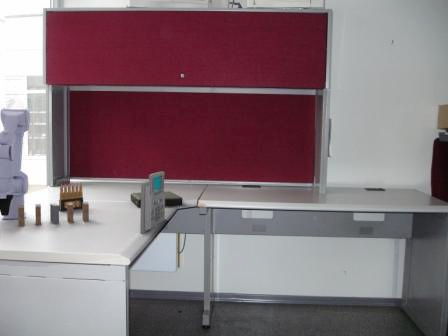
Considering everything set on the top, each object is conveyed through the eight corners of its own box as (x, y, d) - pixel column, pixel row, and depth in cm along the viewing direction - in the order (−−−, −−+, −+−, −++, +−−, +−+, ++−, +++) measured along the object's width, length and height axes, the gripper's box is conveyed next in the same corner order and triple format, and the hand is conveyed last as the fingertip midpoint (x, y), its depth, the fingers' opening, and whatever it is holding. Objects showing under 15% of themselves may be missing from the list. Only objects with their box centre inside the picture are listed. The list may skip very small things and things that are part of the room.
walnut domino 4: (82, 219, 157) (82, 202, 157) (87, 219, 158) (87, 201, 157) (83, 222, 153) (83, 204, 152) (88, 221, 154) (88, 203, 153)
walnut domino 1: (19, 223, 148) (18, 205, 147) (24, 223, 149) (24, 204, 148) (18, 226, 143) (18, 207, 143) (24, 226, 144) (23, 207, 143)
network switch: (187, 207, 191) (187, 196, 191) (140, 210, 179) (140, 199, 178) (168, 199, 211) (168, 190, 211) (124, 202, 199) (124, 192, 198)
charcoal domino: (50, 221, 152) (50, 203, 151) (55, 221, 153) (55, 203, 153) (54, 224, 148) (53, 205, 148) (59, 223, 149) (58, 205, 149)
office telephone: (146, 234, 136) (147, 177, 135) (139, 234, 137) (140, 176, 135) (168, 220, 159) (168, 171, 157) (161, 220, 160) (162, 170, 158)
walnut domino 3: (67, 220, 155) (67, 202, 154) (72, 220, 156) (72, 202, 155) (68, 223, 150) (68, 204, 150) (73, 222, 151) (73, 204, 151)
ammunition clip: (60, 211, 171) (60, 184, 170) (58, 211, 172) (58, 183, 171) (83, 208, 179) (83, 182, 178) (81, 208, 180) (81, 181, 179)
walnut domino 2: (35, 222, 150) (35, 204, 150) (40, 222, 151) (40, 204, 150) (35, 225, 146) (35, 206, 145) (41, 225, 146) (40, 206, 146)
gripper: (-7, 176, 147) (-6, 212, 148) (-12, 180, 134) (-11, 220, 135) (14, 175, 150) (15, 211, 151) (12, 180, 137) (13, 218, 138)
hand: (4, 215), depth 143 cm, fingers closed
